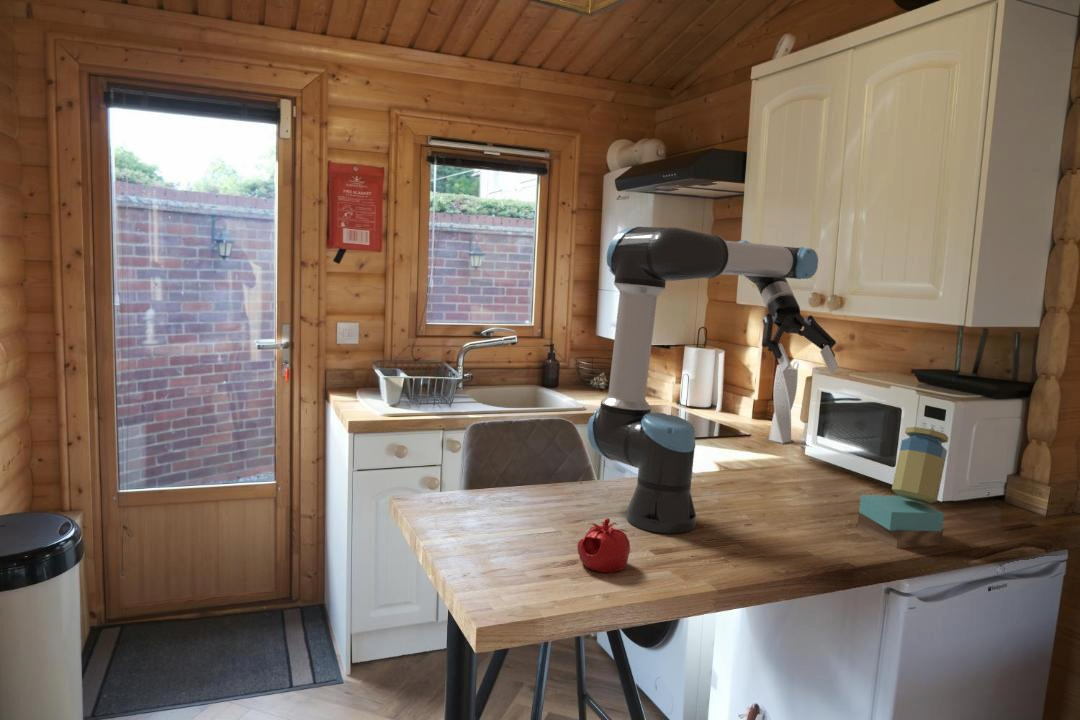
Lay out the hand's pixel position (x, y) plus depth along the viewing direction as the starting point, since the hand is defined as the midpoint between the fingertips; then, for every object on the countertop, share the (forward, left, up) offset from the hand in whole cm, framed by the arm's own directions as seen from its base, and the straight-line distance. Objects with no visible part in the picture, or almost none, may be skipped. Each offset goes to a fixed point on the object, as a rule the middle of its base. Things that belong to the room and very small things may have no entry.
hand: (810, 368), depth 184 cm
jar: (+10, -26, -25) cm, 37 cm away
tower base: (+9, -25, -34) cm, 43 cm away
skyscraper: (+37, +61, -34) cm, 79 cm away
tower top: (+8, -25, -30) cm, 40 cm away
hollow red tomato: (-64, -31, -34) cm, 79 cm away
